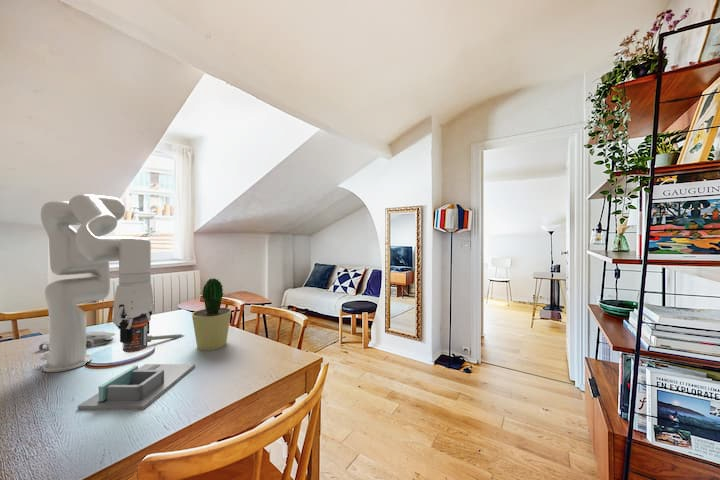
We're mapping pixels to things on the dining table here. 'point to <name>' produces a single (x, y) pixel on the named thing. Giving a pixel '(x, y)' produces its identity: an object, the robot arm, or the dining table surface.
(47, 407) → the dining table surface
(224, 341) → the potted cactus
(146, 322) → the supplement bottle
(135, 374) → the housing
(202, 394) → the dining table surface
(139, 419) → the dining table surface
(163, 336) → the caliper
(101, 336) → the car model
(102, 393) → the bar
